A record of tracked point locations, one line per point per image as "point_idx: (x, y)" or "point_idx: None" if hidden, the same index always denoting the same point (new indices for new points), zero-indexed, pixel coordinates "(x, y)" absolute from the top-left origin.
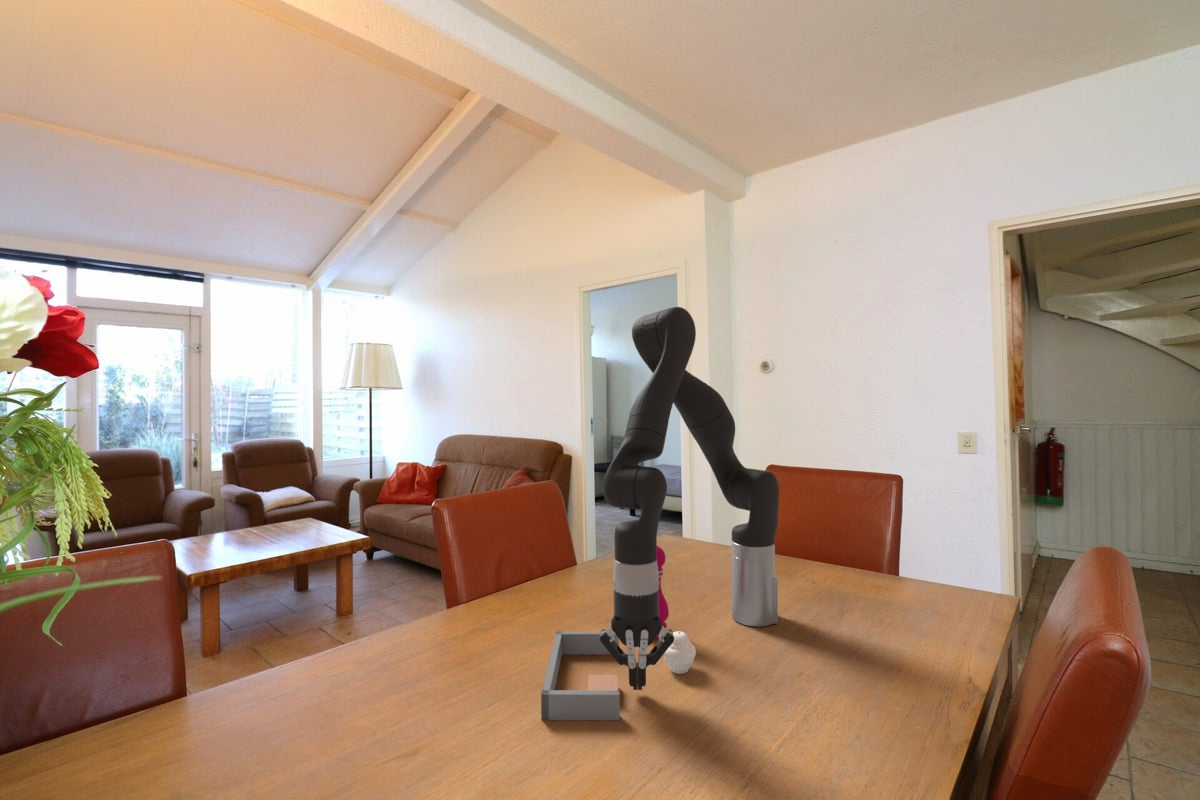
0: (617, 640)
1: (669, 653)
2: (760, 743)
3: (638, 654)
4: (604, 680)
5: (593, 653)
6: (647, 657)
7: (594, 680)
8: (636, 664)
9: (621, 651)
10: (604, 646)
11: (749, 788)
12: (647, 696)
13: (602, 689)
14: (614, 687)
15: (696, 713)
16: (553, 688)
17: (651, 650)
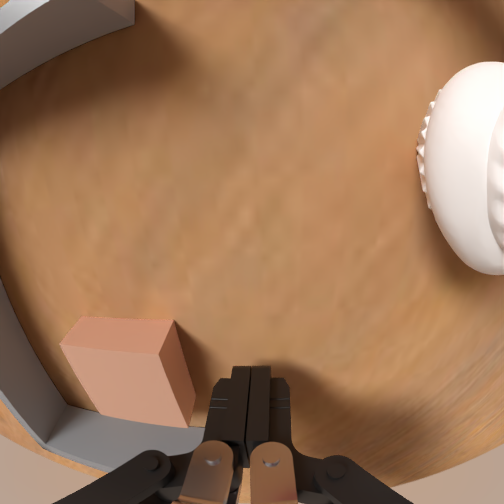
0: (89, 2)
1: (466, 252)
2: (469, 430)
3: (250, 480)
4: (121, 381)
5: (33, 66)
6: (300, 501)
7: (91, 375)
8: (243, 448)
9: (151, 490)
10: (49, 41)
11: (402, 483)
12: (292, 362)
13: (137, 416)
14: (170, 415)
15: (415, 402)
16: (22, 365)
17: (332, 499)
